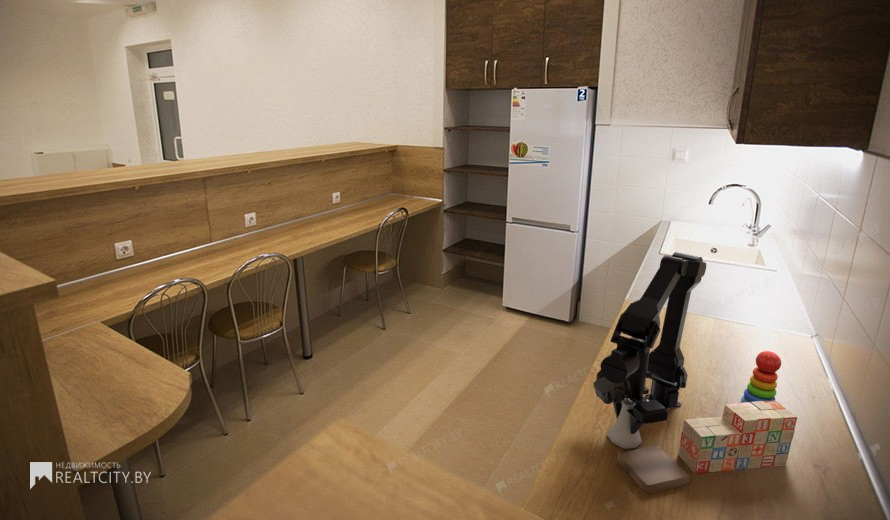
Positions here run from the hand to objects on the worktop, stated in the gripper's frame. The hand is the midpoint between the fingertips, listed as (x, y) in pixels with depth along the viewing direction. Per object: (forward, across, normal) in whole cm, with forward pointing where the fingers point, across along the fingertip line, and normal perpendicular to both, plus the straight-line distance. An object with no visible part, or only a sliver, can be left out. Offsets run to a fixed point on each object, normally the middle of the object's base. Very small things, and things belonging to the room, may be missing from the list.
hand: (626, 426), depth 115 cm
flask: (+4, 0, 0) cm, 4 cm away
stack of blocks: (+4, +12, +18) cm, 22 cm away
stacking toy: (+4, +2, +35) cm, 35 cm away
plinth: (+4, +11, -1) cm, 12 cm away
